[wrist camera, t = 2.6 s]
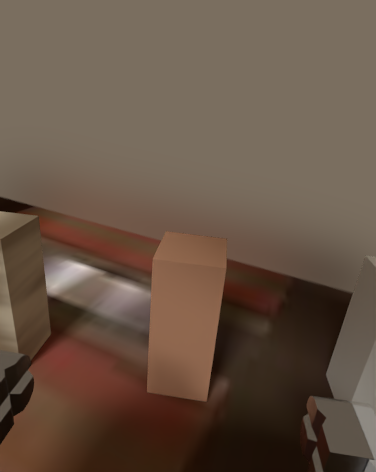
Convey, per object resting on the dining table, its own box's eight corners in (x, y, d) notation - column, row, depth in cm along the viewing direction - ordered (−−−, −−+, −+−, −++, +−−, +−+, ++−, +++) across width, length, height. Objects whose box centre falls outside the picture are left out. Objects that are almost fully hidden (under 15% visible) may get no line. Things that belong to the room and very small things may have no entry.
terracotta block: (146, 392, 24) (152, 258, 19) (158, 349, 28) (165, 231, 24) (206, 402, 24) (226, 268, 19) (210, 357, 28) (226, 238, 23)
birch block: (-34, 363, 25) (-66, 230, 21) (3, 326, 29) (-18, 209, 25) (21, 372, 25) (0, 239, 20) (51, 334, 29) (38, 216, 24)
